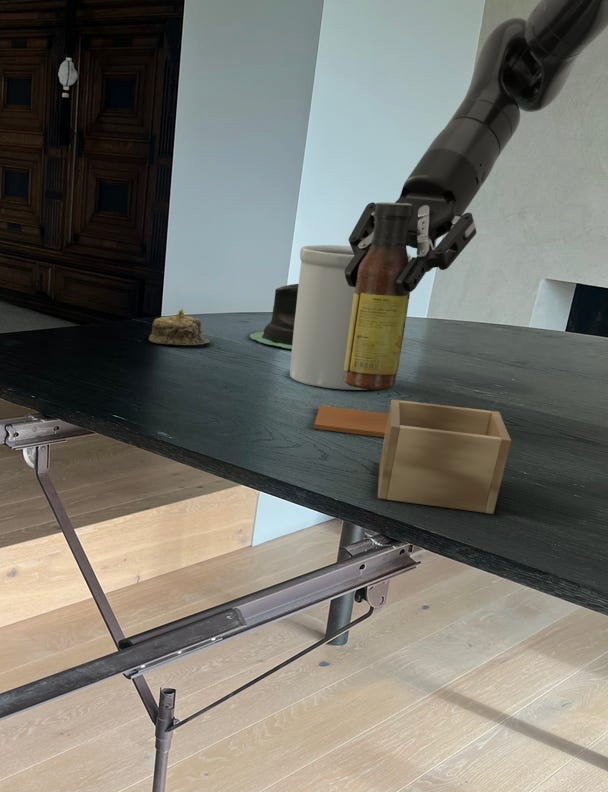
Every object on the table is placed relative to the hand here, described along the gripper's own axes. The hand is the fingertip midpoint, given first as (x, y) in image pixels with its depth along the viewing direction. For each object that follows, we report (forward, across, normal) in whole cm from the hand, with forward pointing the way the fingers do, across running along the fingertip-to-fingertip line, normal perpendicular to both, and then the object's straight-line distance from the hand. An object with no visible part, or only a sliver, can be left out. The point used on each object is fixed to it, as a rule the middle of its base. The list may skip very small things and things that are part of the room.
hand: (374, 285), depth 111 cm
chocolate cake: (-18, -38, +41) cm, 58 cm away
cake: (-2, -48, +25) cm, 54 cm away
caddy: (+21, +19, +2) cm, 28 cm away
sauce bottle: (+7, 0, +9) cm, 12 cm away
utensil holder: (-3, -17, +26) cm, 31 cm away
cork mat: (+10, 0, +12) cm, 16 cm away
